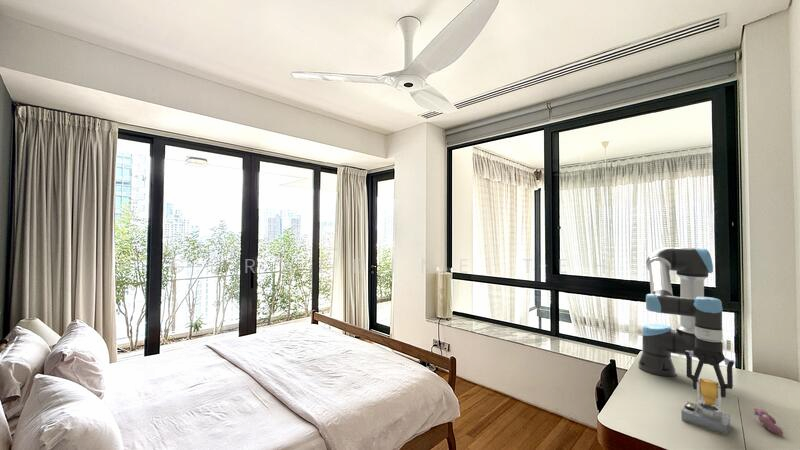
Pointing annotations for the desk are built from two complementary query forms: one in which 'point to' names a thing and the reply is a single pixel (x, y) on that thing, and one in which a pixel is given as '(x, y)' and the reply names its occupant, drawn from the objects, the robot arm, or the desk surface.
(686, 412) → the box
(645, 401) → the desk surface
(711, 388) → the yellow capsule
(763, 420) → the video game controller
